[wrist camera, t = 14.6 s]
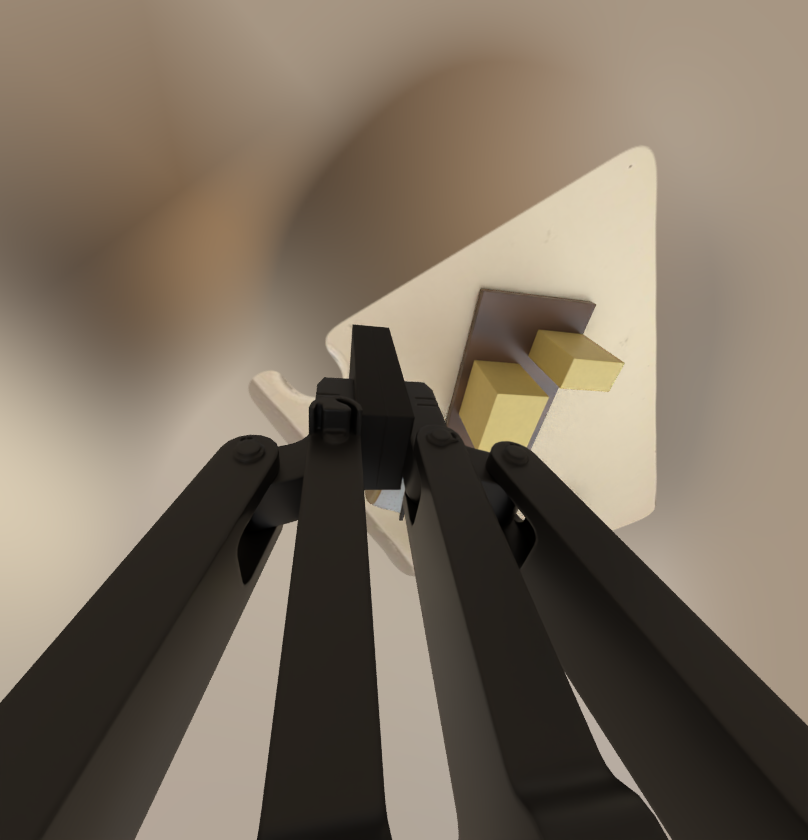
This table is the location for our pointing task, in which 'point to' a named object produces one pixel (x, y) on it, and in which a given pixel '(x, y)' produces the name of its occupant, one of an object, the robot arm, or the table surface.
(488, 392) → the butter block
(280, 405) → the table surface
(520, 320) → the butter board
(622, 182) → the table surface
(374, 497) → the ceramic mug
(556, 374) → the block
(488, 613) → the robot arm
